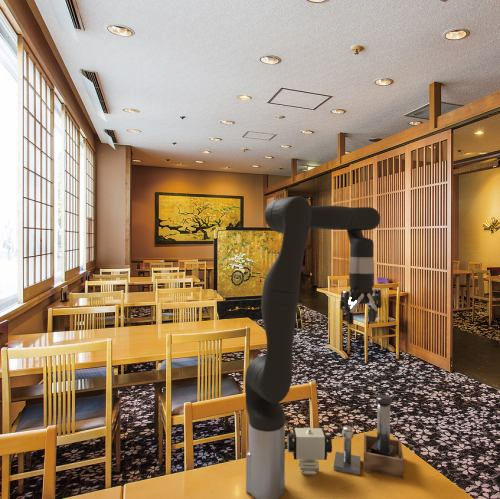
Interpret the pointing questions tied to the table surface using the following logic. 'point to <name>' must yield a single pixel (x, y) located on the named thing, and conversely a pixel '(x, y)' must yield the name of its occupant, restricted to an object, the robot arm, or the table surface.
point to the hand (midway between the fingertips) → (361, 322)
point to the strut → (383, 428)
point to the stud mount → (347, 455)
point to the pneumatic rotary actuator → (309, 447)
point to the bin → (383, 459)
